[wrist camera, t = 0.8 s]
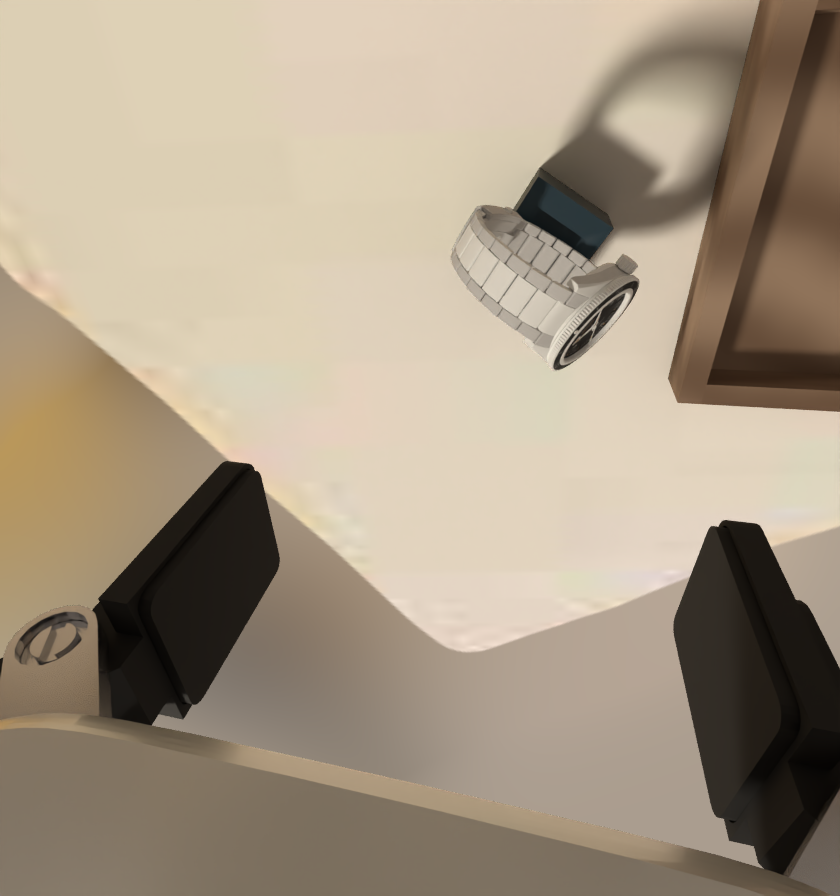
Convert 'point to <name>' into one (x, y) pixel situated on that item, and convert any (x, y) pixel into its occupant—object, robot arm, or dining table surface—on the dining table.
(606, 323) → the watch
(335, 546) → the dining table surface
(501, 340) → the dining table surface
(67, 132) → the dining table surface
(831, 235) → the tray
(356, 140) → the dining table surface
